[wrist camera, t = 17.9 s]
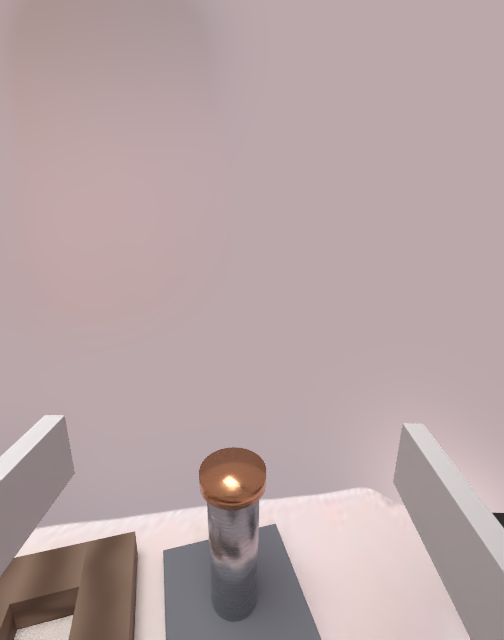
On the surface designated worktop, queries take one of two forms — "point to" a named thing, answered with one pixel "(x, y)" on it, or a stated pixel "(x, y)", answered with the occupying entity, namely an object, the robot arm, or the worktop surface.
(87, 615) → the bore block
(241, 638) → the rubber pad
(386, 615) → the worktop surface
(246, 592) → the steel plug
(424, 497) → the robot arm
